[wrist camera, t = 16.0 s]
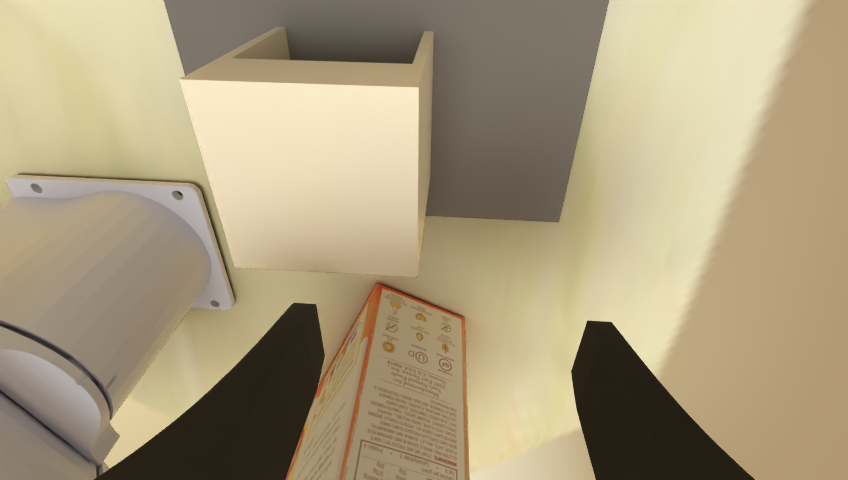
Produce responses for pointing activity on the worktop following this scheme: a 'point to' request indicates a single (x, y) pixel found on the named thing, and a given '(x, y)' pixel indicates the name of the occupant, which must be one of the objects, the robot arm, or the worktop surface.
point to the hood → (316, 157)
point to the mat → (446, 81)
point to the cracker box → (391, 398)
